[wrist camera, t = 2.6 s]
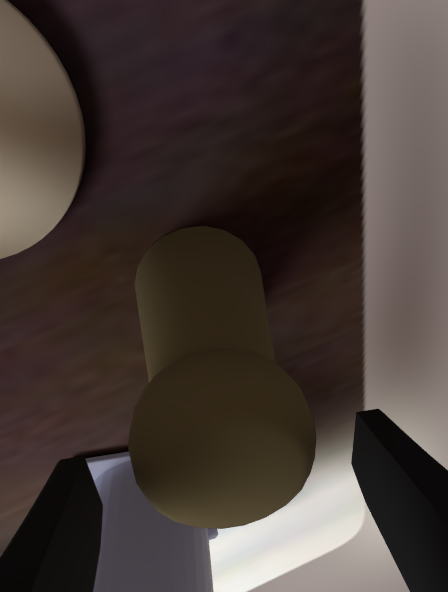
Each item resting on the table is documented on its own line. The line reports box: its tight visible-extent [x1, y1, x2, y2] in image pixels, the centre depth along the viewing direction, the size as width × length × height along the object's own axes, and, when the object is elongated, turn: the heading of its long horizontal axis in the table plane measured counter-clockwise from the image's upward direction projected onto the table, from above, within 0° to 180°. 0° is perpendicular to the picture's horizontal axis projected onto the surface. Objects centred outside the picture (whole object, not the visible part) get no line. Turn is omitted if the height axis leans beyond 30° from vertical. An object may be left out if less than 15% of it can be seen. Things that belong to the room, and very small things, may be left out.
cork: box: [128, 226, 316, 529], centre depth 15 cm, size 6×6×11 cm
